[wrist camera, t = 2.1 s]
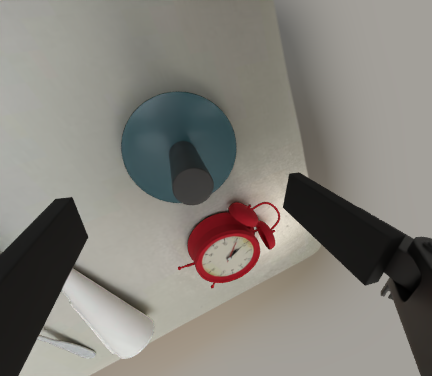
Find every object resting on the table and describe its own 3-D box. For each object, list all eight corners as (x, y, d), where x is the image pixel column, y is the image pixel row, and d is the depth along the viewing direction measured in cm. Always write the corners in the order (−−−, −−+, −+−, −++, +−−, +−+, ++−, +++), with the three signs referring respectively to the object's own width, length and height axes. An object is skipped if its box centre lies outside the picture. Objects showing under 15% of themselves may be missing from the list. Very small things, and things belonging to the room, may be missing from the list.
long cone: (94, 224, 25) (157, 312, 32) (49, 239, 25) (122, 323, 33) (68, 255, 19) (150, 351, 27) (10, 274, 19) (109, 364, 27)
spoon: (8, 290, 24) (-2, 302, 22) (104, 350, 34) (102, 362, 33) (-25, 303, 24) (-37, 317, 22) (82, 360, 34) (79, 372, 33)
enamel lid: (235, 91, 20) (283, 92, 12) (231, 192, 26) (261, 238, 18) (110, 91, 17) (65, 92, 9) (135, 203, 23) (121, 264, 15)
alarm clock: (167, 270, 24) (268, 212, 19) (172, 232, 29) (254, 178, 24) (217, 296, 29) (307, 255, 24) (215, 260, 34) (289, 220, 29)
